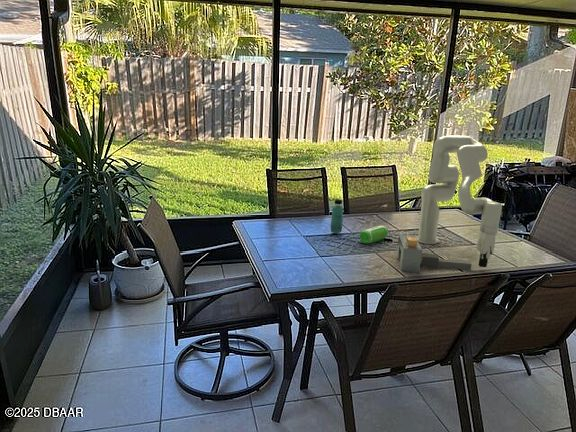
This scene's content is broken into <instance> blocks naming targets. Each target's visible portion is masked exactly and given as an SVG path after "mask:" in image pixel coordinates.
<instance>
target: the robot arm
mask: <svg viewBox="0 0 576 432" xmlns="http://www.w3.org/2000/svg"><path fill="white" fill-rule="evenodd" d="M432 149H433V150H432V151H433V152H432V159H431V163H430V166H429V172H428V180H429V182H431V183H433V184H428V185H425V186H424V187H423V188H422V189H421V193H420V194H421V196H420V197H421V207H420V217H419V227H418V233H417V235H415V236H416V238H417V240H418V242H419V244H420V243H421V244H425V245H436V244H438V243H439V241H440V240H439V238H437V234H438V226H439V219H440V207H439V205H438V203H440V202H441V203H443V202H449V201H451V200H452V199H453V198H454V197H455V196H454V195H455V193H456V189H457V185H458V182H459V177H460V172H461V176H462V181H461V182H460V184H459V187H458V193H457V197H458V201H459V207H460V208H461V211H462V212H463V213H464V214H466V215H481V217H480V219H481V220H480V225H479V232H478V237H477V241H476V247H475V248H476V250H477V251H478V252H479V260H478V266H479V268H487V266H488V261H489V259H490V257H491V256H492V255H493V254H494V250H495V244H496V235H498V231H499V225H500V222H501V221H500V220H501V215H502V210H503V204H501V202H497V201H494V200H493V199H490V198H488V197H472V195H471V186H472V185H473V183H474V182H475V181H478V180H479V179H480V178H481V177H482V176H483V173H482V169H481V166H480V163H482V162H485V161H486V160H487V158H488V154H489V153H488V150H487V147H486V146H485V145H484V144H482V142H481V143H480V142H479V141H477V140H476V139H474V138H473V137H472V136H469V135H442V136H439V137H437V138H436V140H435V141H434V144H433V148H432ZM449 153H450V154H451V153H452V154H453V153H454V154H456V156H457V157H456V158H457V160H458V165H459V168H458V167H457V166H456V165H454V164H450V160H451V158H450V154H449ZM459 169H460V172H459Z"/></svg>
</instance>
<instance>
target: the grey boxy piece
mask: <svg viewBox="0 0 576 432" xmlns="http://www.w3.org/2000/svg"><path fill="white" fill-rule="evenodd" d="M416 236H417V235H415V234H414V235H411V234H398V239H397V246H396V247H397V249H396V258H397V260H398V261H399V260H400V261H399V269H400V271H401V272H409V273H420V270H421V269H420V268H421V255H422V253H423V249H422V247H421V244H420V242H418V240H417V238H416Z"/></svg>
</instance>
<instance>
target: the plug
mask: <svg viewBox="0 0 576 432" xmlns="http://www.w3.org/2000/svg"><path fill="white" fill-rule="evenodd" d="M420 266H421V267H423V268H432V269H435V268H436V269H438V268H443V269H456V270H457V269H458V270H466V271H467V270H468V271H471V270H472V262H471V261H469V260H466V261H465V260H457V259H456V260H454V259H443V258H441V259H440V257H439V255H438V254H437V253H429V252H428V253H426V252H422V255H421V263H420Z"/></svg>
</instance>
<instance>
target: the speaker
mask: <svg viewBox="0 0 576 432" xmlns="http://www.w3.org/2000/svg"><path fill="white" fill-rule="evenodd" d="M388 236H389V228H387V226H386V225H378V226H377V225H376V226H374V227H371V228H367V229H364V230H362V231H361V232H360V234H359V239H360V241H361V242H362V243H363V244H373V243H376V242H379V241H381V240H384V239H385V238H387V237H388Z"/></svg>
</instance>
